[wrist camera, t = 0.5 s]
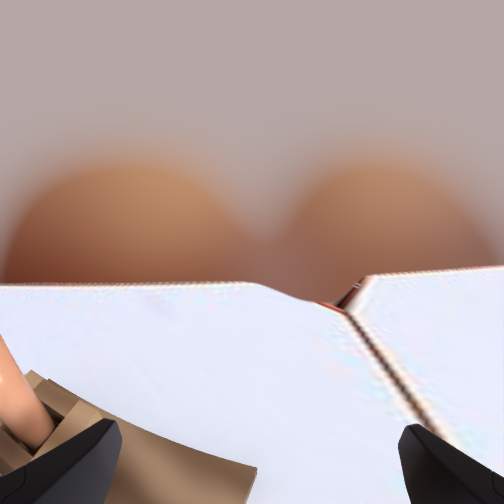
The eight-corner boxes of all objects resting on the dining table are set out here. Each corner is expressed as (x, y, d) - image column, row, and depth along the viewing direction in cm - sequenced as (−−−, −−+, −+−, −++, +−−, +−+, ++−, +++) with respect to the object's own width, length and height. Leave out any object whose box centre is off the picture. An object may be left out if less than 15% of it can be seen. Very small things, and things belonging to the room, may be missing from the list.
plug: (48, 466, 16) (-27, 379, 11) (20, 442, 17) (-49, 354, 12) (72, 435, 20) (12, 342, 14) (43, 415, 20) (-14, 323, 15)
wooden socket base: (204, 597, 10) (195, 600, 8) (-9, 461, 15) (-35, 436, 13) (256, 474, 20) (258, 452, 18) (54, 387, 25) (37, 358, 23)
